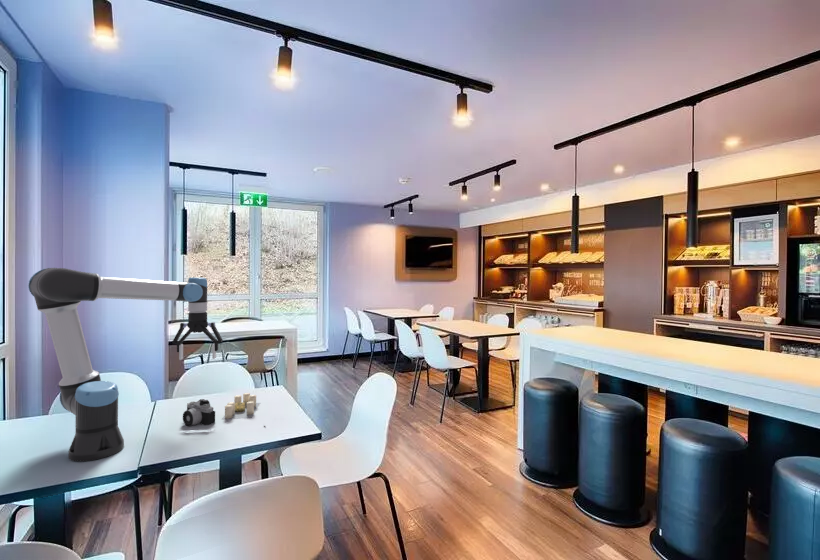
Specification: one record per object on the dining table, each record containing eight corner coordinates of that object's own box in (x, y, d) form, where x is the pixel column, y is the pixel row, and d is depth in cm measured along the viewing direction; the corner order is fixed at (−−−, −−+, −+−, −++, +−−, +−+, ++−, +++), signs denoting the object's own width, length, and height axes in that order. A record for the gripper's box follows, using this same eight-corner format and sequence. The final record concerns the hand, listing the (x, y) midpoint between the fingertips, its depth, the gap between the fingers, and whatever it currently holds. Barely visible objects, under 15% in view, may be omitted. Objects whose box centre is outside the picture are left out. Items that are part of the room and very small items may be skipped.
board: (251, 420, 170) (251, 406, 170) (221, 421, 168) (221, 407, 168) (260, 404, 189) (260, 392, 189) (233, 406, 187) (233, 393, 187)
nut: (243, 412, 177) (243, 405, 177) (233, 412, 176) (233, 405, 176) (246, 408, 181) (246, 402, 181) (235, 409, 180) (235, 402, 180)
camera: (174, 424, 164) (174, 400, 164) (195, 417, 172) (195, 394, 172) (198, 432, 157) (198, 406, 156) (218, 424, 164) (218, 400, 164)
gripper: (229, 310, 185) (229, 356, 185) (170, 311, 179) (170, 358, 180) (225, 312, 177) (225, 359, 178) (163, 312, 172) (163, 361, 172)
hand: (197, 358), depth 179 cm, fingers open, 13 cm apart
